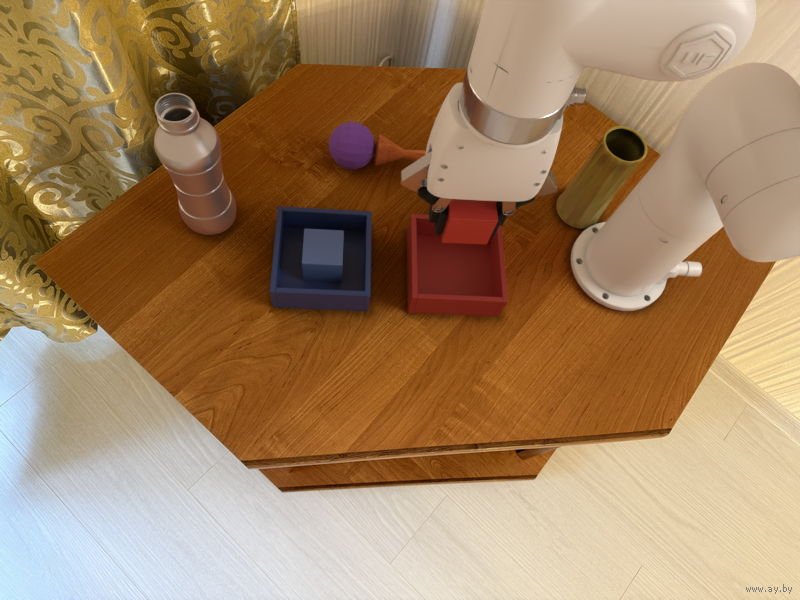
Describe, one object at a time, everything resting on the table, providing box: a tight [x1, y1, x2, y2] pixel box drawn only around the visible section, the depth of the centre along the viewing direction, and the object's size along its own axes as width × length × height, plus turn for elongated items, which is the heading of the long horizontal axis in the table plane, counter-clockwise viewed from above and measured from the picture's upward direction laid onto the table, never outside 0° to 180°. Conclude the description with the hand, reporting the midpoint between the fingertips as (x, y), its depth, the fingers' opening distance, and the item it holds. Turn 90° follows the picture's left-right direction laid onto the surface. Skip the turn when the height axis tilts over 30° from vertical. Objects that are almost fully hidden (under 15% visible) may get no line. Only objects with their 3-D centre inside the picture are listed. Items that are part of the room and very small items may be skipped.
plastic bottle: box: [153, 92, 238, 236], centre depth 65 cm, size 6×7×20 cm
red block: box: [441, 199, 498, 244], centre depth 58 cm, size 5×5×5 cm
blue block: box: [302, 229, 344, 282], centre depth 70 cm, size 5×5×5 cm
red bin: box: [406, 213, 509, 317], centre depth 73 cm, size 11×11×4 cm
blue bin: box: [269, 205, 373, 312], centre depth 71 cm, size 11×11×4 cm
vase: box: [555, 125, 648, 230], centre depth 74 cm, size 6×6×14 cm
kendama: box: [328, 121, 426, 171], centre depth 78 cm, size 6×6×20 cm
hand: (463, 222), depth 60 cm, fingers closed on red block, 4 cm apart
